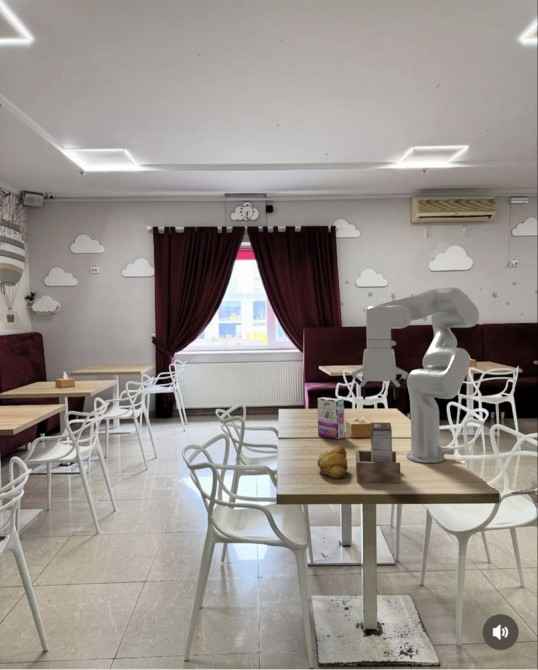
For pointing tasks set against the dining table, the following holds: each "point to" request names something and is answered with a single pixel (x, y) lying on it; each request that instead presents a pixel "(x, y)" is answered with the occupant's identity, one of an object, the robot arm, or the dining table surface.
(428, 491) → the dining table surface
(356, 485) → the dining table surface
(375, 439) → the coffee box
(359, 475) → the open side box
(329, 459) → the bread roll
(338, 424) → the candy bar box
